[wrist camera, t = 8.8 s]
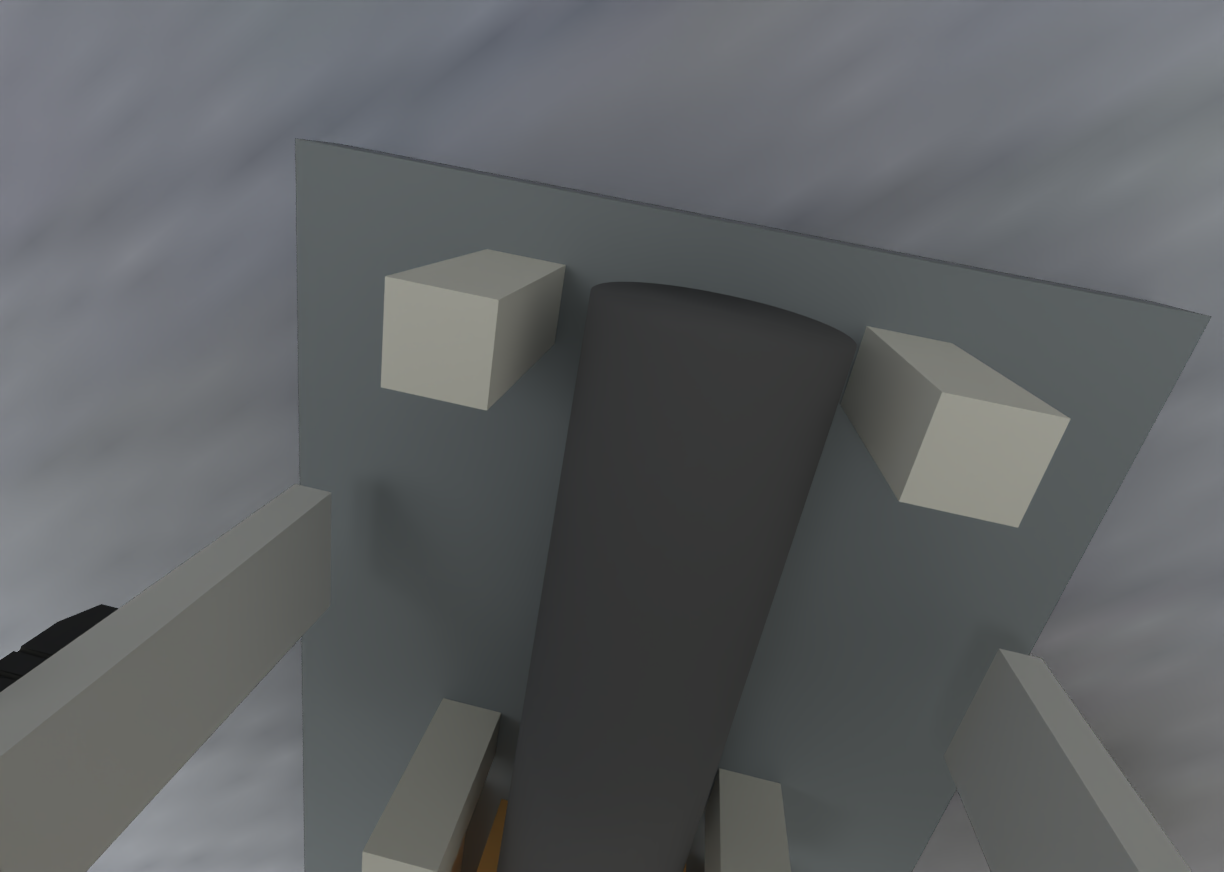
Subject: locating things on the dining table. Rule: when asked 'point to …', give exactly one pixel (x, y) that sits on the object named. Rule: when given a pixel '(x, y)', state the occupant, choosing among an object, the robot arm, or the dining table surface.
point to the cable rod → (660, 568)
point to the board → (530, 475)
